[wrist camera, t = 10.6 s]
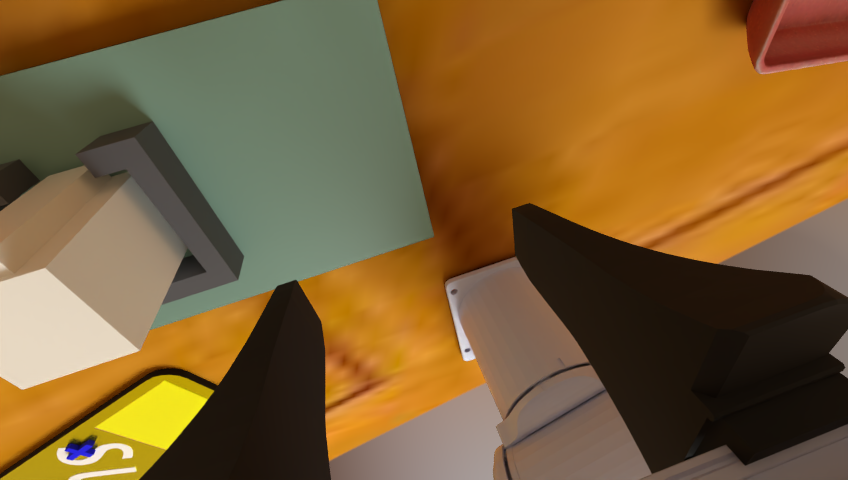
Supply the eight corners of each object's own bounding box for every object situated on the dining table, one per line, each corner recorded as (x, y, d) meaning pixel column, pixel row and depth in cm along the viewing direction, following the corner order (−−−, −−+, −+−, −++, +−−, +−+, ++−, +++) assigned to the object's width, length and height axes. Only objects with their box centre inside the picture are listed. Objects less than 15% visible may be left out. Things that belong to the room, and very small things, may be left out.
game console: (163, 352, 24) (155, 371, 23) (288, 409, 31) (287, 426, 29) (-17, 480, 26) (-32, 504, 25) (135, 508, 33) (129, 527, 32)
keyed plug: (191, 239, 18) (140, 350, 13) (111, 264, 18) (22, 389, 12) (125, 152, 15) (20, 246, 10) (27, 180, 15) (-137, 294, 10)
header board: (430, 227, 23) (443, 256, 20) (140, 322, 21) (119, 364, 19) (368, -23, 15) (379, -24, 13) (-95, 101, 14) (-181, 125, 11)
